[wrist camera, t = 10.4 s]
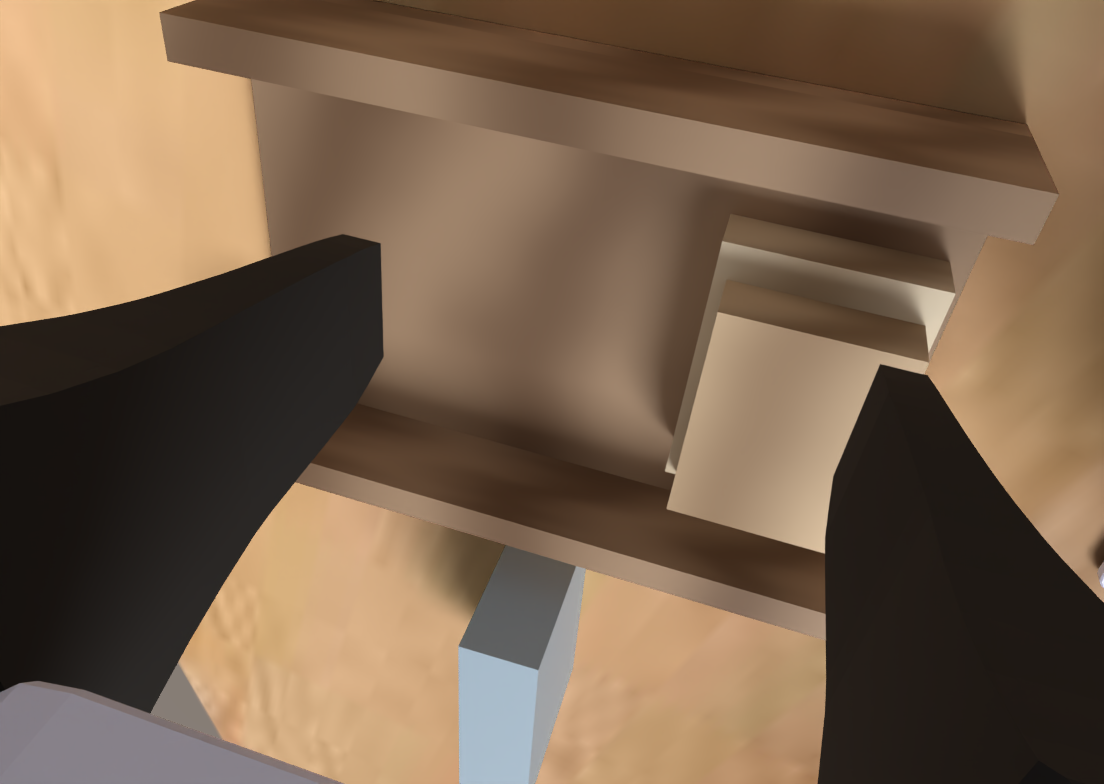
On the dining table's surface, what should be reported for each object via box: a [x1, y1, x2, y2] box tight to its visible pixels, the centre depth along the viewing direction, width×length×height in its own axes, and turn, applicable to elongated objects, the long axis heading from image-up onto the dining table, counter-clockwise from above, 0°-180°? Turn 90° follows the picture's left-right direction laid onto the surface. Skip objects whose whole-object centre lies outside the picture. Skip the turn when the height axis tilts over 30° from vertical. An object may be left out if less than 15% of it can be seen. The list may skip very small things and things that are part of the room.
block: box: [459, 545, 586, 784], centre depth 29 cm, size 2×8×6 cm, turn 176°
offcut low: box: [665, 214, 956, 474], centre depth 21 cm, size 5×7×2 cm
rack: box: [160, 0, 1059, 640], centre depth 22 cm, size 18×13×4 cm
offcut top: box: [667, 280, 929, 554], centre depth 20 cm, size 4×6×2 cm
